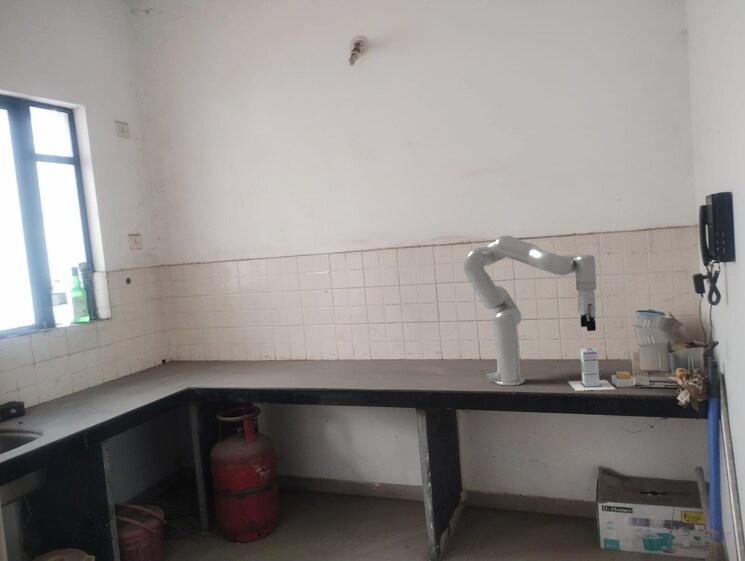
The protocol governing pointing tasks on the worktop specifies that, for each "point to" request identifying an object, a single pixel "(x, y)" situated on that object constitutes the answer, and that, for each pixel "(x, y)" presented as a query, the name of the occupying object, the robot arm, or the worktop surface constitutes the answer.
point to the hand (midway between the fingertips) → (588, 328)
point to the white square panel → (581, 387)
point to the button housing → (622, 382)
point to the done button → (623, 375)
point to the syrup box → (589, 367)
